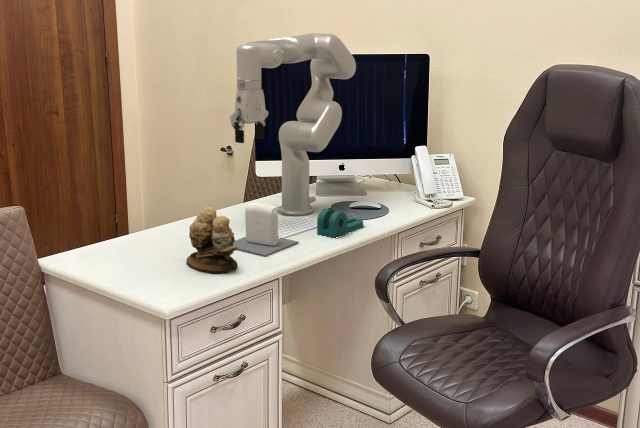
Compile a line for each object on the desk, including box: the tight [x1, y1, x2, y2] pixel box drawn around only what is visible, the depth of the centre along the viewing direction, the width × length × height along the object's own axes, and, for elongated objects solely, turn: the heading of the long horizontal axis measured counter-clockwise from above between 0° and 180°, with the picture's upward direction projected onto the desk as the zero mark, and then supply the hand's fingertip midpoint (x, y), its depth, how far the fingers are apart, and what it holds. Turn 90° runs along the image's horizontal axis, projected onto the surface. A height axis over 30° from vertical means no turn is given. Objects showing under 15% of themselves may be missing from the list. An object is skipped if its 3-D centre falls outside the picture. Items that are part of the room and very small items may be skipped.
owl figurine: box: [186, 206, 239, 275], centre depth 201 cm, size 18×12×17 cm, turn 48°
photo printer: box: [244, 201, 279, 246], centre depth 220 cm, size 10×4×12 cm, turn 62°
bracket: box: [316, 208, 364, 239], centre depth 236 cm, size 18×7×8 cm, turn 142°
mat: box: [233, 236, 300, 258], centre depth 221 cm, size 16×16×1 cm
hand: (249, 140), depth 232 cm, fingers open, 9 cm apart
